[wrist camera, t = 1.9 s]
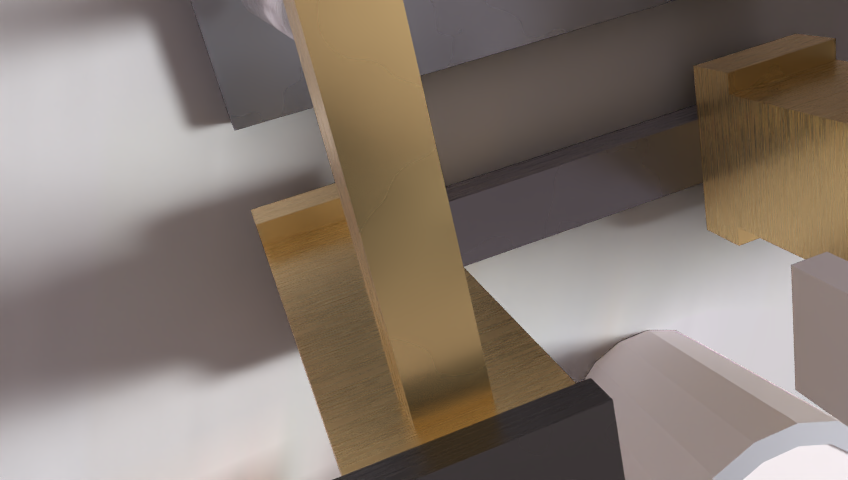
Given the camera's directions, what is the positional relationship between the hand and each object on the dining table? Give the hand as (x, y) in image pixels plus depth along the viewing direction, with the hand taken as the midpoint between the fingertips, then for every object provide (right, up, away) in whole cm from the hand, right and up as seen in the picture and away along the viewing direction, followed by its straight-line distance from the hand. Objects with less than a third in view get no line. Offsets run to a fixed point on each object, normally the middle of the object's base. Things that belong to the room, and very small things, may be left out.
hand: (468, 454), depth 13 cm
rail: (+3, +5, +10) cm, 12 cm away
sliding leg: (-4, +6, +6) cm, 9 cm away
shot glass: (+7, -2, +15) cm, 16 cm away
